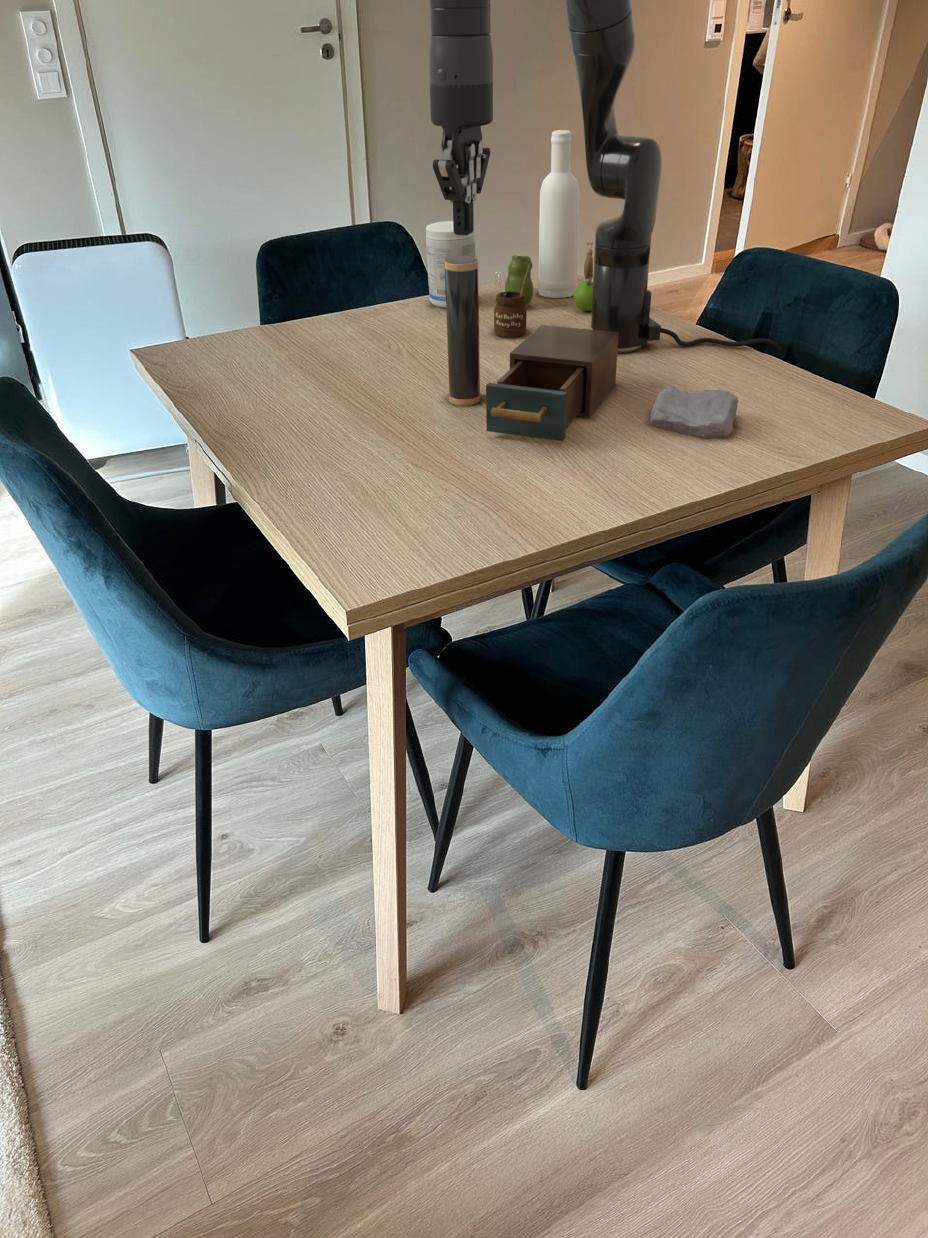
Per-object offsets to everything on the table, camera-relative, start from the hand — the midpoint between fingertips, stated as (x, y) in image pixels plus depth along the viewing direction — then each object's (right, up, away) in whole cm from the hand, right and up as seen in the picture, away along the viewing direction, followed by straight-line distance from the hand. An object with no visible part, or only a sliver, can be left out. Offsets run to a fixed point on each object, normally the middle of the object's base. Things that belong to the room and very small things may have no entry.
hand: (463, 233), depth 124 cm
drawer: (+10, -21, +16) cm, 28 cm away
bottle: (+19, +18, +76) cm, 80 cm away
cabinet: (+16, -15, +27) cm, 34 cm away
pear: (+11, +12, +68) cm, 70 cm away
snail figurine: (+24, +11, +65) cm, 70 cm away
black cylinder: (0, -15, +27) cm, 31 cm away
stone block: (+33, -21, +17) cm, 43 cm away
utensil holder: (+9, +3, +54) cm, 55 cm away
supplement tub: (-2, +14, +72) cm, 73 cm away
